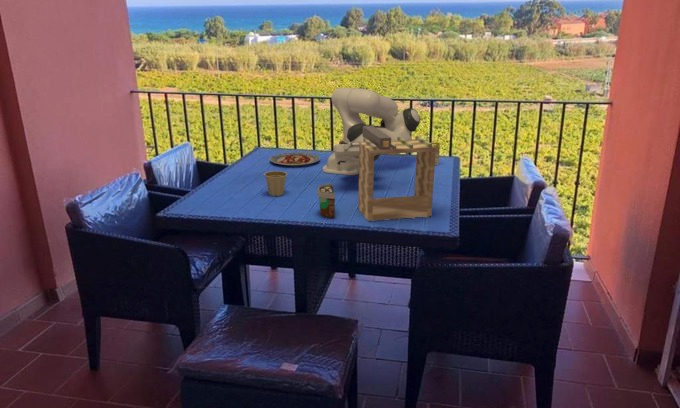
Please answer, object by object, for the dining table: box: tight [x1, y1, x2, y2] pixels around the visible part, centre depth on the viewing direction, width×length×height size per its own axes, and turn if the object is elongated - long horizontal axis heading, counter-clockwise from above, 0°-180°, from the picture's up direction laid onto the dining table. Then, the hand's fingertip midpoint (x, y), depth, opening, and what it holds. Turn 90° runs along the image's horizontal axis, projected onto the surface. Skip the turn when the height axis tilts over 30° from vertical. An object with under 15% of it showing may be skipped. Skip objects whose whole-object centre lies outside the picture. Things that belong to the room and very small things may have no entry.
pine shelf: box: [357, 135, 436, 222], centre depth 189 cm, size 14×24×27 cm, turn 102°
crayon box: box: [430, 142, 441, 166], centre depth 259 cm, size 7×3×12 cm, turn 98°
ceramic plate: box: [269, 151, 321, 167], centre depth 265 cm, size 26×26×3 cm
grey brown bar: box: [362, 125, 391, 150], centre depth 187 cm, size 24×4×4 cm, turn 12°
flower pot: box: [263, 170, 288, 197], centre depth 213 cm, size 9×9×9 cm
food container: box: [316, 183, 336, 219], centre depth 190 cm, size 12×6×10 cm, turn 5°
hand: (362, 143), depth 207 cm, fingers open, 8 cm apart
